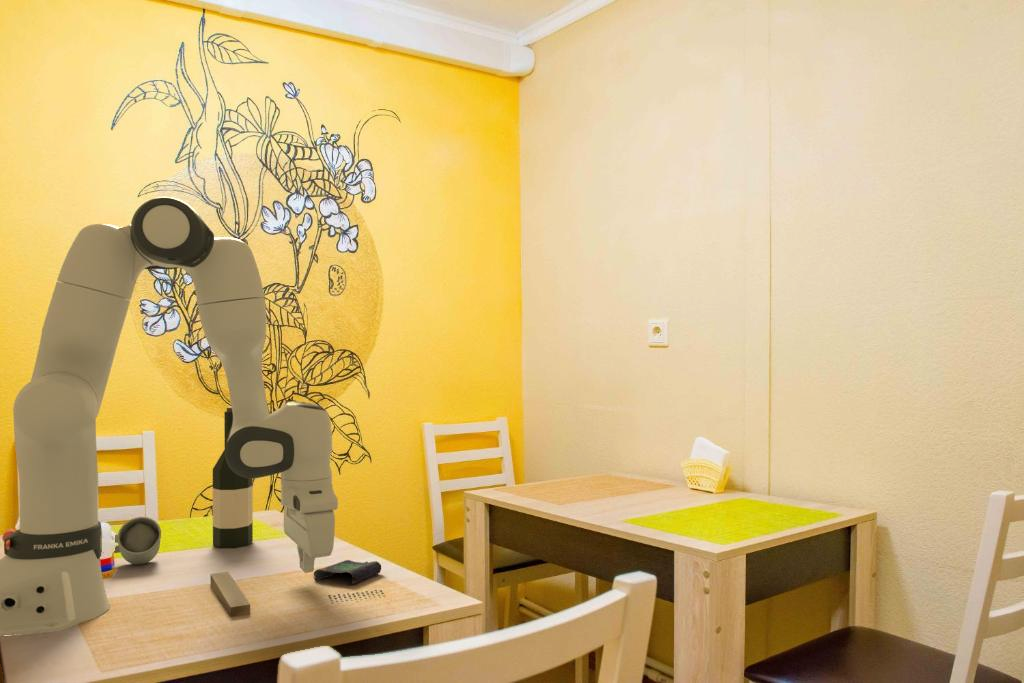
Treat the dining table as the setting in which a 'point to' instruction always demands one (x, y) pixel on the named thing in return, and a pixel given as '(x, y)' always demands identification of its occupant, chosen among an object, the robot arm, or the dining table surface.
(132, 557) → the ceramic mug
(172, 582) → the dining table surface
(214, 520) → the wine bottle
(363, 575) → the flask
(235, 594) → the bar
